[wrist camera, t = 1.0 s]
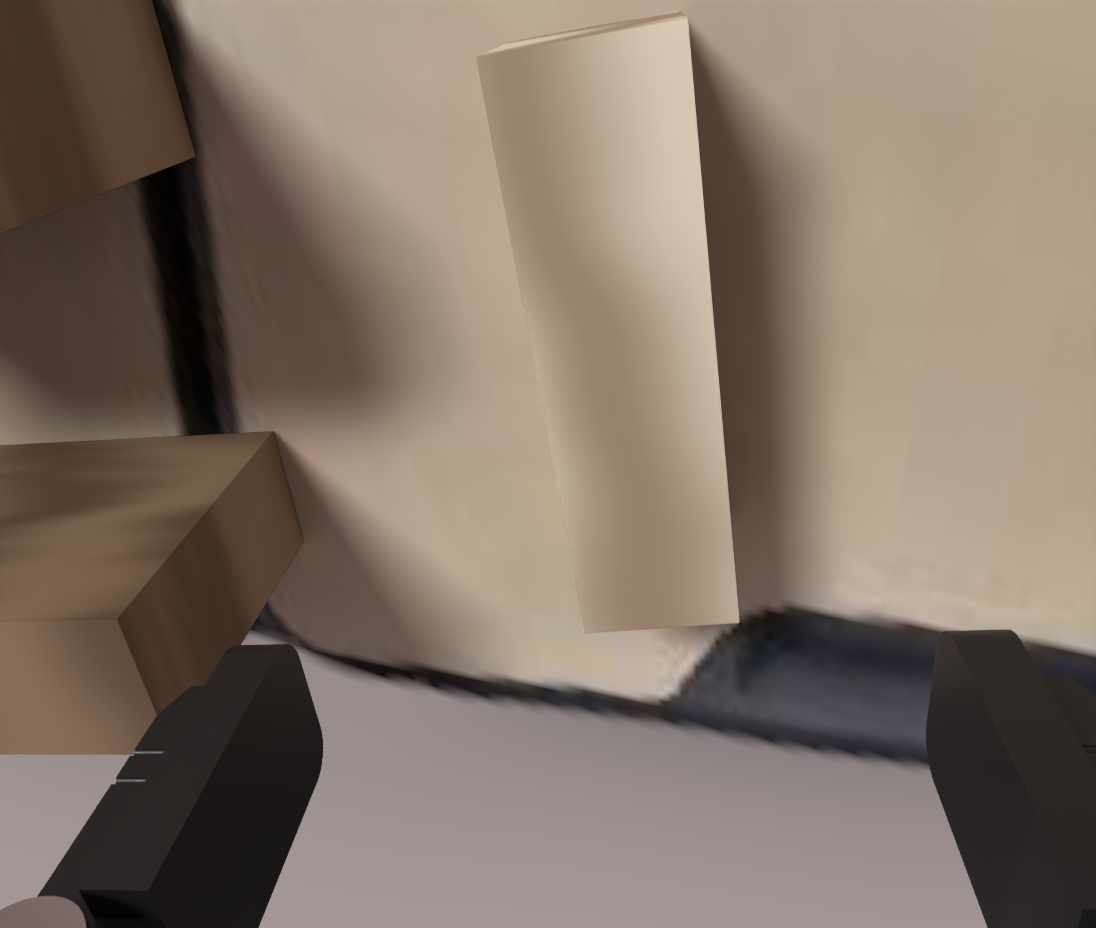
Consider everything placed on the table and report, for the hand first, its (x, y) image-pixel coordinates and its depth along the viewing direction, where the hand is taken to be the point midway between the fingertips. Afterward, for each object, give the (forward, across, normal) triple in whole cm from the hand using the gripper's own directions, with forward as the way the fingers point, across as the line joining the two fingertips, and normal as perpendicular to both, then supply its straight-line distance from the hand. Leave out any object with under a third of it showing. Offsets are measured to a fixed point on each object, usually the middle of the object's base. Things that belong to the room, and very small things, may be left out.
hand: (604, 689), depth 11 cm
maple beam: (+15, 0, 0) cm, 15 cm away
